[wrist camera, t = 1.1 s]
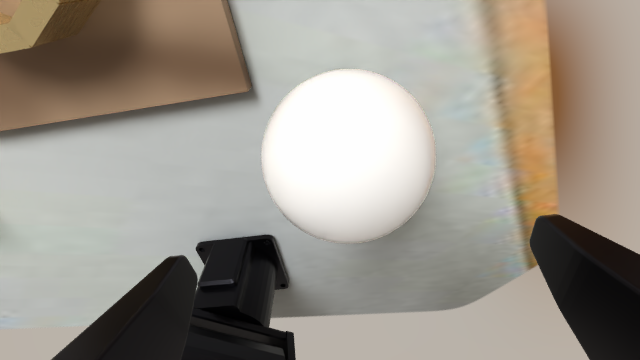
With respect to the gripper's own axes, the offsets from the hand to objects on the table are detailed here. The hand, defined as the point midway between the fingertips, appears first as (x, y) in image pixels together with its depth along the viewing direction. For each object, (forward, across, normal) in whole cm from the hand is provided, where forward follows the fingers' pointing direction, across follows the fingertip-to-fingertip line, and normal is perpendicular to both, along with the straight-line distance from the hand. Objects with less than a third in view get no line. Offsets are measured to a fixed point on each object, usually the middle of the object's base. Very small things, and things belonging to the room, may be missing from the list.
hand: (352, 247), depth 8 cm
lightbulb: (+12, 0, 0) cm, 13 cm away
